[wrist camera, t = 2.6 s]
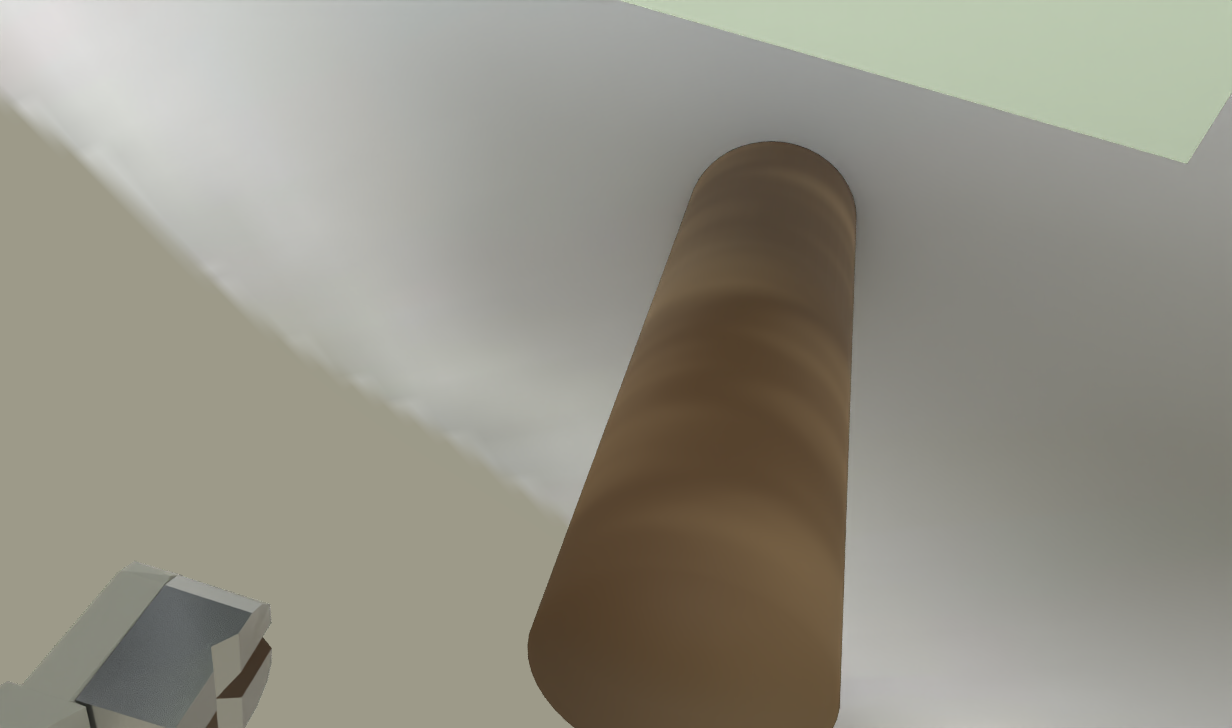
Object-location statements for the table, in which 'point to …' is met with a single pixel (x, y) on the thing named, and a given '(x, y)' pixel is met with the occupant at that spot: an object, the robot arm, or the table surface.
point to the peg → (720, 474)
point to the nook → (1020, 55)
